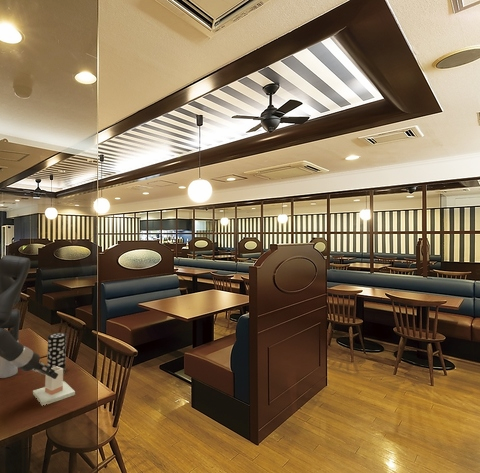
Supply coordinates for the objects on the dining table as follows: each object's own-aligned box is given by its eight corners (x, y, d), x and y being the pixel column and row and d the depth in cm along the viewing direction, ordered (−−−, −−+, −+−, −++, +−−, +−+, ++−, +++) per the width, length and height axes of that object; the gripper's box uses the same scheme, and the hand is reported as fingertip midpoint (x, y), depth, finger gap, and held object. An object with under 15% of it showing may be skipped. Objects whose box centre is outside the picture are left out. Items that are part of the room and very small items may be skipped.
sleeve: (45, 392, 136) (45, 370, 136) (56, 387, 141) (56, 366, 141) (51, 395, 134) (52, 372, 134) (62, 390, 138) (63, 368, 138)
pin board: (32, 393, 137) (33, 377, 137) (64, 384, 147) (64, 368, 147) (42, 406, 128) (42, 388, 128) (74, 394, 138) (75, 378, 138)
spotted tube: (44, 377, 152) (45, 338, 152) (49, 370, 160) (51, 333, 160) (62, 376, 155) (63, 337, 155) (67, 369, 163) (68, 332, 163)
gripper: (40, 353, 125) (66, 370, 135) (21, 346, 131) (47, 363, 141) (26, 370, 120) (54, 386, 130) (7, 363, 126) (34, 378, 136)
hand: (50, 374), depth 136 cm, fingers open, 8 cm apart
